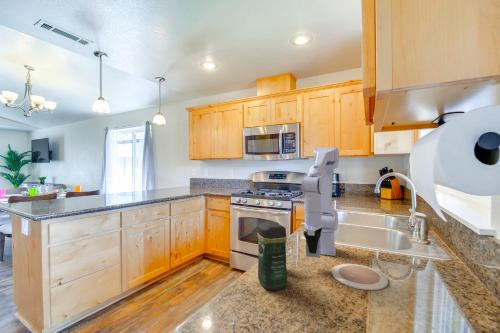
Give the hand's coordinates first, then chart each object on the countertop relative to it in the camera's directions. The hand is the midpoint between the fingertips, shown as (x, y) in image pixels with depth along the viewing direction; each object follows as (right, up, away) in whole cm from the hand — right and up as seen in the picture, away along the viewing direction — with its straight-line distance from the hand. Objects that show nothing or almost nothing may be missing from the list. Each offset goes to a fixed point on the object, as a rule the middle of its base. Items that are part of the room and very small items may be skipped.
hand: (313, 250), depth 78 cm
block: (0, -2, 0) cm, 2 cm away
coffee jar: (-15, -7, -9) cm, 19 cm away
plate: (+13, -6, -6) cm, 15 cm away
